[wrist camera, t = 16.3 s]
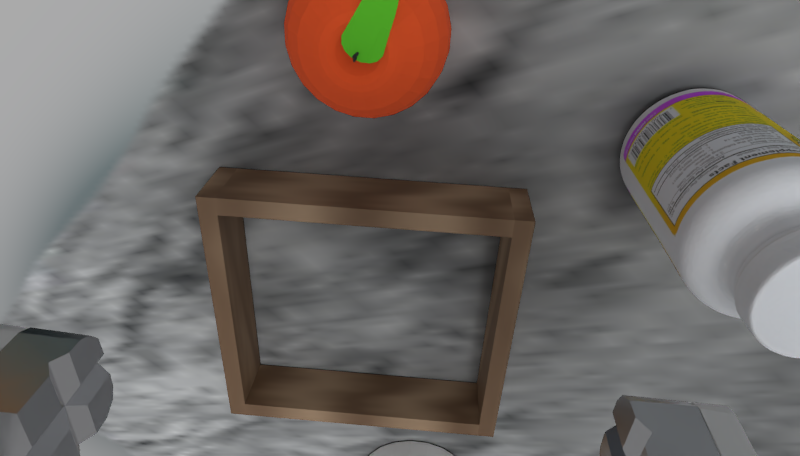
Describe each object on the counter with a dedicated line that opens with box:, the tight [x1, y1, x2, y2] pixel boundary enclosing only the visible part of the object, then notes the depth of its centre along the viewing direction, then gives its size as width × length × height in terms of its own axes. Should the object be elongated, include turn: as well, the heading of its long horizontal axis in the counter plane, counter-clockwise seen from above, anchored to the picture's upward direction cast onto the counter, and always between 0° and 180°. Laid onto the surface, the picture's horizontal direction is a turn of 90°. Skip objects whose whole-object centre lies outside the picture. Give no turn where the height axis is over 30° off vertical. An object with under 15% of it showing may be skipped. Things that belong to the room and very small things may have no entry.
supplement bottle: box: [620, 88, 800, 358], centre depth 23 cm, size 7×7×13 cm
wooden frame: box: [195, 167, 535, 437], centre depth 34 cm, size 17×16×4 cm
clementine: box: [284, 0, 451, 118], centre depth 23 cm, size 8×7×7 cm
